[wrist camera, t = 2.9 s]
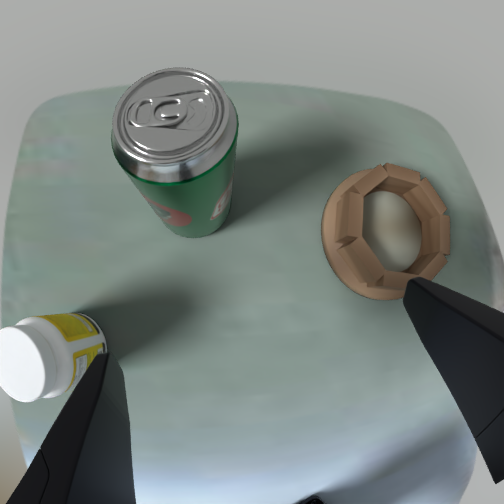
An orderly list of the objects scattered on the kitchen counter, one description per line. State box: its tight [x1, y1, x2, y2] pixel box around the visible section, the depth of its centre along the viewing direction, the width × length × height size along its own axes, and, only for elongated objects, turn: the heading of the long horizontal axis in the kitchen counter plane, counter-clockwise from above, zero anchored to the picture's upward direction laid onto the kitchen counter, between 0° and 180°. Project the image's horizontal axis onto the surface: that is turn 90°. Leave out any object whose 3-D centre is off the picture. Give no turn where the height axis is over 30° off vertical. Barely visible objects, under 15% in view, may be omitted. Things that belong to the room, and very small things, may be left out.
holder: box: [321, 163, 450, 300], centre depth 21 cm, size 10×10×4 cm
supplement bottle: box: [0, 313, 107, 402], centre depth 16 cm, size 5×5×8 cm
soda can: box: [111, 68, 239, 238], centre depth 16 cm, size 5×5×12 cm
